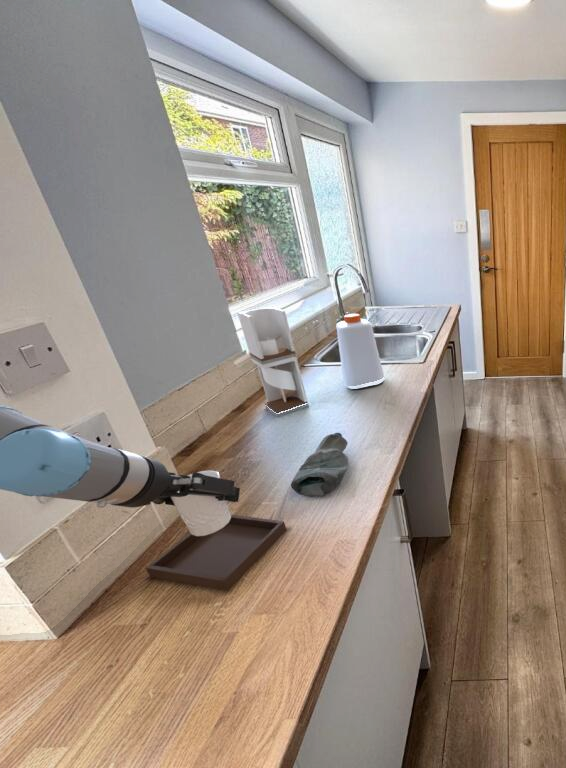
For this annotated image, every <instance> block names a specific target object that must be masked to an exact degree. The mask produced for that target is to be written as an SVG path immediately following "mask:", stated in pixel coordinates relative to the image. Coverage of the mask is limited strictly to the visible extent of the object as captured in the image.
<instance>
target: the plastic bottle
mask: <svg viewBox="0 0 566 768" xmlns="http://www.w3.org/2000/svg"><path fill="white" fill-rule="evenodd" d="M335 326H336V336H337V344H338V350H339V359H340V367H341V375H342V381H343V380H344V381H343V383H344V382H345V383H344V385H345V386H346V385H347V386H357V385H361V384H365V383H369V382H374V381H377V380H380V379H382V378H383V377H384V378H385V374H384V370H383V365H382V362H381V357H380V354H379V353H380V352H379V350H378V349H379V348H378V345H377V342H376V337H375V333H374V329H373V324H372V323H371V322H370V321H369V320H368V319H365V318H361V315H360V314H359V313H349V314H346V315H344V316H343V320H342V321H339V322H337V323H336V325H335Z"/></svg>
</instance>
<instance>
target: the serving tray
mask: <svg viewBox="0 0 566 768" xmlns="http://www.w3.org/2000/svg"><path fill="white" fill-rule="evenodd" d="M230 515H231V519H230V521H229V523H228V524H227V525H225V526H224V527H223V528H222V529H220V530H218V531H216V532H214V533H212V534H209V535H205V536H194V535H192V534H191V533H190V532H189V533H188V534H186V535H185V536H184V537H183V538H181V539H180V540H179V541H177V542H176V543H175V544H174V545H172V546H171V547H170V548H169V549H167V550H166V551H165V552H163V554H161V555H160V556H158V557H157V558H156V559H155V560H154V561H152V562H151V563H150V564H149V565H147V566H146V567H145V570H146V572H147V574H148V576H149V578H152V579H157V580H161V581H169V582H174V583H180V584H185V585H191V586H192V585H193V586H198V587H204V588H209V589H216V590H221V591H229V590H230V589H231V588H232V587H233V586H234V585H235V584H236V583H237V582H239V580H240V579H241V578H242V577H243V576H244V575H245V574H246V573H247V572H248V571H249V570H250V569H251V568H252V567H253V566H254V564H256V563H257V562H258V561H259V559H260V558H261V557H262V556H264V554H265V553H267V551H268V550H270V549H271V547H272V546H273V545H274V544H275V543H276V542H277V541H278V540H279V539H280V538H281V537H282V536H283V535H284V534H285V533H286V531H287V527H286V523H285V521H284V520H276V519H268V518H261V517H252V516H245V515H239V514H231V513H230Z"/></svg>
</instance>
